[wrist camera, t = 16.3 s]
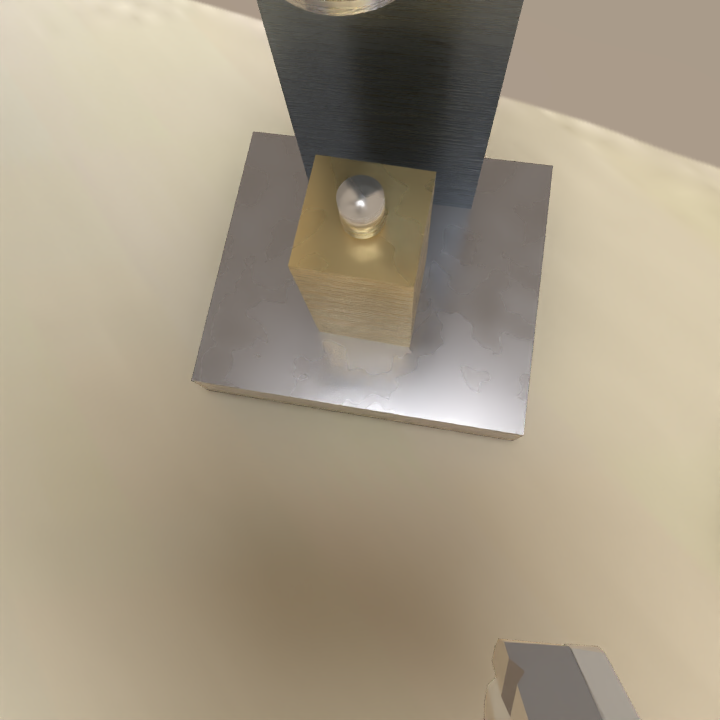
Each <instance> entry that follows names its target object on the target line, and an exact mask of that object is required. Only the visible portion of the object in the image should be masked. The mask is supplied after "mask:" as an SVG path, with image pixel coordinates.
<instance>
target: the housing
mask: <svg viewBox="0 0 720 720" xmlns="http://www.w3.org/2000/svg"><path fill="white" fill-rule="evenodd" d="M435 178H436V172H435V171H428V170H420V169H413V168H406V167H399V166H392V165H385V164H378V163H371V162H364V161H357V160H350V159H343V158H336V157H329V156H322V155H315V159H314V163H313V167H312V171H311V175H310V179H309V183H308V187H307V191H306V195H305V199H304V203H303V207H302V211H301V215H300V219H299V223H298V227H297V231H296V235H295V240H294V244H293V248H292V252H291V256H290V260H289V264H288V267H289V269H290V271H291V274H292V276H293V278H294V280H295V282H296V284H297V286H298V288H299V290H300V292H301V295H302V297H303V299H304V301H305V303H306V305H307V307H308V309H309V311H310V313H311V315H312V318H313V320H314V322H315V324H316V326H317V328H318V330H319V331H320V332H325V333H331V334H337V335H342V336H348V337H353V338H359V339H365V340H370V341H376V342H381V343H387V344H392V345H398V346H404V347H409V348H410V343H411V338H412V332H413V327H414V322H415V316H416V311H417V306H418V301H419V295H420V290H421V285H422V280H423V274H424V269H425V264H426V256H427V248H428V239H429V230H430V222H431V213H432V204H433V196H434V187H435Z"/></svg>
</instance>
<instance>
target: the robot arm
mask: <svg viewBox="0 0 720 720" xmlns="http://www.w3.org/2000/svg"><path fill="white" fill-rule="evenodd" d="M492 663H493V667H494V671H495V675H496V678H494V679H493V680H492V681H491V682H490V683H489V684H488V685H487V690H486V696H485V703H484V720H641V719H640V717H639V715H638V713H637V711H636V710H635V708H634V706H633V704H632V702H631V700H630V698H629V697H628V695H627V693H626V691H625V689H624V687H623V685H622V684H621V682H620V680H619V678H618V676H617V674H616V673H615V671H614V669H613V667H612V665H611V663H610V661H609V660H608V658H607V656H606V654H605V652H604V651H603V650H602V649H601V648H599V647H598V646H587V645H574V644H564V645H561V644H552V643H541V642H530V641H519V640H508V639H498V640H497V643H496V645H495V647H494V652H493V657H492Z"/></svg>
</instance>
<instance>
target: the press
mask: <svg viewBox="0 0 720 720" xmlns="http://www.w3.org/2000/svg"><path fill="white" fill-rule="evenodd" d="M523 1H524V0H395V1H393V2H391V3H389V4H388V5H385V6H383V7H381V8H378V9H376V10H372V11H369V12H366V13H361V14H356V15H346V16H329V15H322V14H317V13H313V12H309V11H306V10H303V9H301V8H298V7H296V6H294V5H293V4H291V3H289V2H287V1H286V0H257V3H258V6H259V10H260V13H261V17H262V20H263V24H264V27H265V31H266V34H267V38H268V41H269V45H270V48H271V52H272V55H273V59H274V62H275V66H276V70H277V73H278V77H279V80H280V84H281V87H282V91H283V94H284V98H285V101H286V105H287V108H288V112H289V115H290V119H291V122H292V126H293V129H294V133H295V136H287V135H279V134H270V133H261V132H253V135H252V139H251V143H250V147H249V151H248V155H247V159H246V163H245V167H244V171H243V175H242V179H241V183H240V187H239V191H238V195H237V199H236V203H235V207H234V211H233V215H232V219H231V223H230V227H229V231H228V235H227V239H226V243H225V247H224V251H223V255H222V259H221V263H220V267H219V271H218V275H217V279H216V283H215V287H214V291H213V295H212V299H211V303H210V307H209V311H208V315H207V319H206V323H205V327H204V331H203V336H202V340H201V344H200V348H199V352H198V356H197V360H196V364H195V368H194V372H193V376H192V380H191V381H193V382H195V383H197V384H199V385H200V386H202V387H204V388H206V389H207V390H211V391H217V392H223V393H229V394H236V395H242V396H248V397H254V398H260V399H266V400H272V401H278V402H284V403H290V404H296V405H302V406H308V407H314V408H320V409H326V410H332V411H338V412H344V413H350V414H356V415H362V416H368V417H374V418H380V419H386V420H392V421H398V422H404V423H410V424H416V425H422V426H428V427H434V428H440V429H446V430H452V431H458V432H464V433H470V434H476V435H482V436H488V437H494V438H500V439H506V440H512V441H513V440H515V439H517V438H519V437H521V436H523V435H524V426H525V417H526V407H527V398H528V389H529V380H530V371H531V361H532V352H533V343H534V334H535V325H536V316H537V306H538V297H539V288H540V279H541V270H542V261H543V251H544V242H545V233H546V224H547V215H548V206H549V196H550V187H551V178H552V169H553V166H550V165H541V164H533V163H524V162H515V161H506V160H498V159H489V158H484V156H485V152H486V148H487V144H488V140H489V136H490V132H491V128H492V124H493V120H494V116H495V112H496V108H497V104H498V100H499V96H500V92H501V88H502V84H503V80H504V76H505V72H506V68H507V64H508V60H509V56H510V52H511V48H512V44H513V40H514V36H515V32H516V28H517V24H518V21H519V16H520V13H521V8H522V5H523ZM315 155H322V156H329V157H336V158H343V159H350V160H357V161H364V162H371V163H378V164H385V165H392V166H399V167H406V168H413V169H420V170H428V171H435V172H436V178H435V187H434V196H433V204H432V213H431V222H430V230H429V239H428V248H427V256H426V264H425V269H424V274H423V280H422V285H421V290H420V295H419V301H418V306H417V311H416V316H415V322H414V327H413V332H412V338H411V343H410V348H409V347H404V346H398V345H392V344H387V343H381V342H376V341H370V340H365V339H359V338H353V337H348V336H342V335H337V334H331V333H325V332H320V331H319V330H318V328H317V326H316V324H315V322H314V320H313V318H312V315H311V313H310V311H309V309H308V307H307V305H306V303H305V301H304V299H303V297H302V295H301V292H300V290H299V288H298V286H297V284H296V282H295V280H294V278H293V276H292V274H291V271H290V269H289V267H288V264H289V260H290V256H291V252H292V248H293V244H294V240H295V235H296V231H297V227H298V223H299V219H300V215H301V211H302V207H303V203H304V199H305V195H306V191H307V187H308V183H309V179H310V175H311V171H312V167H313V163H314V159H315Z"/></svg>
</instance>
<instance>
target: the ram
mask: <svg viewBox="0 0 720 720" xmlns="http://www.w3.org/2000/svg"><path fill="white" fill-rule="evenodd" d="M286 1H287V2H289V3H291V4H293V5H294V6H296V7H298V8H301V9H303V10H306V11H309V12H313V13H317V14H322V15H329V16H346V15H356V14H361V13H366V12H369V11H372V10H376V9H378V8H381V7H383V6H385V5H388V4H389V3H391V2H393V1H395V0H286Z"/></svg>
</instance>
